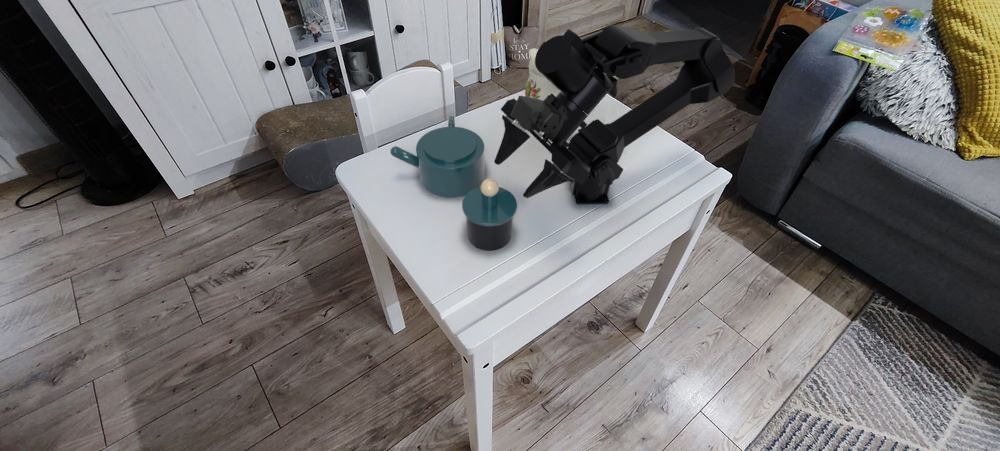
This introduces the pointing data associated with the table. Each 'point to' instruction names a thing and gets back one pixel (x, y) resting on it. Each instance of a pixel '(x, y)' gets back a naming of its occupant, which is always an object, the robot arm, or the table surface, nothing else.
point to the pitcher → (538, 81)
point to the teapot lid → (489, 204)
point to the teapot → (447, 160)
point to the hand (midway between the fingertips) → (510, 179)
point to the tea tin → (489, 235)
